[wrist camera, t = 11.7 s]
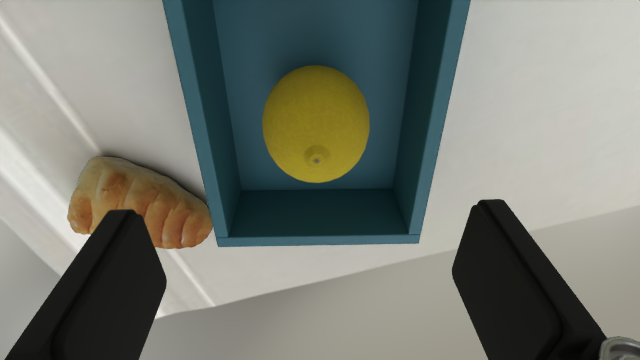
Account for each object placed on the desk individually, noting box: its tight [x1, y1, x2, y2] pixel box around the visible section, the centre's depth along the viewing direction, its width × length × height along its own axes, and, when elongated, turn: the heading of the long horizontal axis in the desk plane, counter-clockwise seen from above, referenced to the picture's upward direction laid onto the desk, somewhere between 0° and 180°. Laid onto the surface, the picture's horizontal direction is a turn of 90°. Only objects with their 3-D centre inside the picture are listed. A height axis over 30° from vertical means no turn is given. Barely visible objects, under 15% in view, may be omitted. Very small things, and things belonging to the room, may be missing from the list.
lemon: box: [262, 65, 370, 183], centre depth 18 cm, size 6×6×8 cm
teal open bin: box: [162, 0, 471, 247], centre depth 20 cm, size 16×13×6 cm
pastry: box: [67, 156, 213, 249], centre depth 25 cm, size 9×7×4 cm
